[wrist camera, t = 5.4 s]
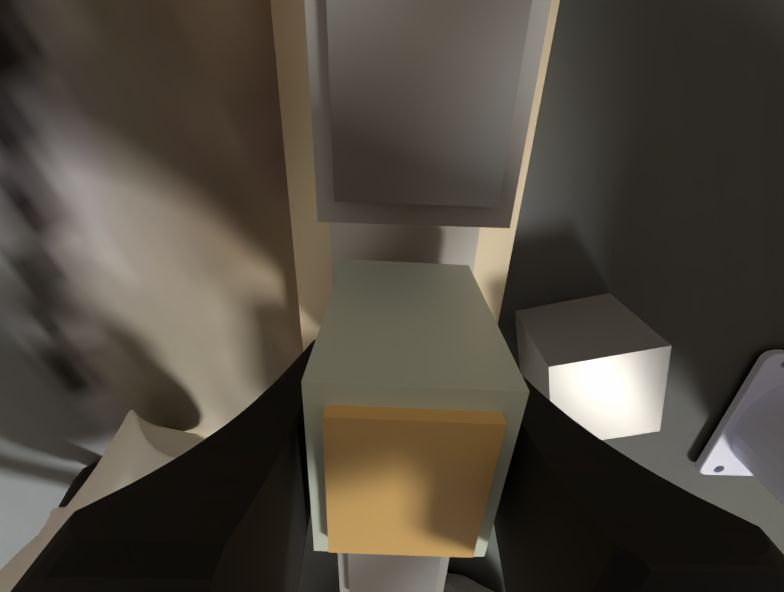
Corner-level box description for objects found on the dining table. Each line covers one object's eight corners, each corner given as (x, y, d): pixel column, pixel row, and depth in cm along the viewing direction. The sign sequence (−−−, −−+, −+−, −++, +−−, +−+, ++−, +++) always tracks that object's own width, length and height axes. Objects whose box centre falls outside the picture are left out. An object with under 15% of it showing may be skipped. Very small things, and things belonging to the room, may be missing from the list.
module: (468, 265, 12) (535, 403, 6) (450, 387, 14) (487, 571, 8) (344, 259, 12) (297, 393, 6) (345, 382, 14) (311, 565, 8)
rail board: (552, -36, 11) (755, -216, 5) (462, 471, 21) (490, 621, 15) (277, -47, 11) (124, -246, 5) (319, 468, 21) (289, 617, 15)
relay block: (608, 291, 16) (671, 345, 12) (605, 365, 18) (659, 430, 14) (513, 309, 16) (548, 367, 13) (520, 380, 18) (552, 447, 14)
